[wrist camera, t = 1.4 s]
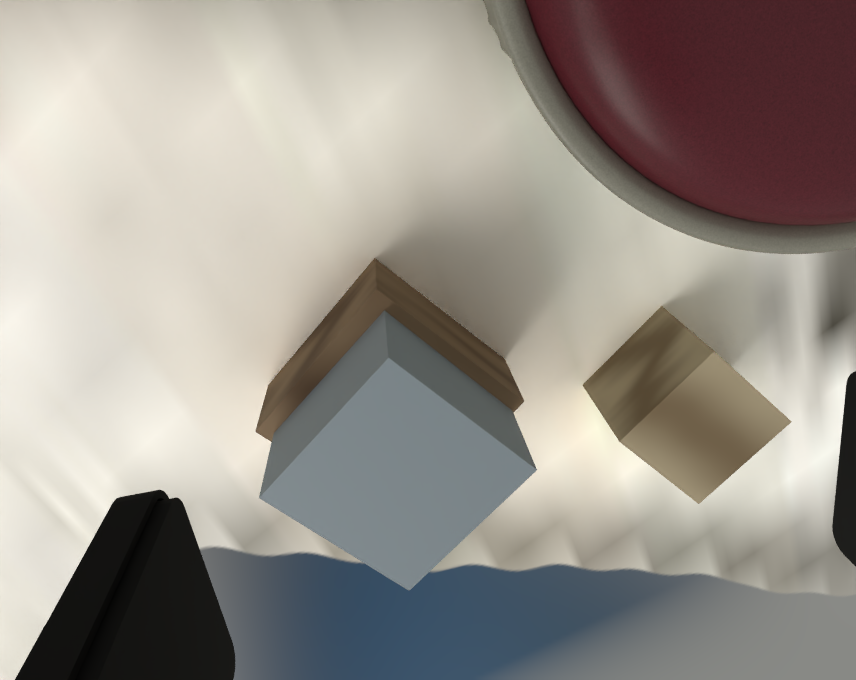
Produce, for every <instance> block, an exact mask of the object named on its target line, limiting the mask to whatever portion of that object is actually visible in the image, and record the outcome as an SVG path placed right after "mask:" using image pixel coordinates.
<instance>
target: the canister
mask: <svg viewBox="0 0 856 680" xmlns="http://www.w3.org/2000/svg"><path fill="white" fill-rule="evenodd" d="M483 1H484V3H485V6H486V9H487V13H488V22H489V24H490V25H491V26H492V27H493V28H494V30H495V32H496V34H497V36H498V38H499V40H500V45H501V48H502V50H503V51H504V52H505V53H506V54H507V55H508V56H509V57H510V58H511V60H512V62H513V64H514V66H515V68H516V70H517V72H518V75H519V77H520V78H521V80H522V82H523V84H524V86H525V88H526V90H527V92H528V93H529V95H530V97H531V99H532V100H533V102H534V104H535V105H536V107H537V108H538V110H539V112H540V113H541V115H542V116H543V118H544V119H545V121H546V122H547V123H548V125H549V126H550V128H551V129H552V130H553V132H554V133H555V134H556V136H557V137H558V138H559V140H560V141H561V142H562V143H563V144H564V146H565V147H566V148H567V149H568V151H569V152H570V153H571V154H572V155H573V156H574V157H575V158H576V159H577V161H578V162H579V163H580V164H581V165H582V166H583V167H584V168H585V169H586V170H587V171H588V172H589V173H591V174H592V175H593V176H594V177H595V178H596V179H597V180H598V181H599V182H600V183H602V184H603V185H604V186H605V187H606V188H608V189H609V190H610V191H611V192H613V193H614V194H615V195H617V196H618V197H619V198H621V199H622V200H623V201H625V202H626V203H628V204H629V205H631V206H632V207H634V208H635V209H637V210H639V211H640V212H642V213H644V214H645V215H647V216H649V217H651V218H653V219H654V220H656V221H658V222H660V223H662V224H664V225H666V226H668V227H671V228H673V229H675V230H677V231H680V232H682V233H684V234H687V235H690V236H692V237H695V238H698V239H701V240H704V241H707V242H711V243H714V244H718V245H722V246H726V247H731V248H736V249H741V250H747V251H755V252H764V253H778V254H808V253H823V252H832V251H840V250H846V249H852V248H856V0H483Z"/></svg>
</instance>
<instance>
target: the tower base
mask: <svg viewBox="0 0 856 680" xmlns="http://www.w3.org/2000/svg"><path fill="white" fill-rule="evenodd" d="M384 310H385V311H386V312H387V313H389V314H390V315H391V316H392V317H394V318H395V319H396V320H397V321H399V322H400V323H401V324H403V325H404V326H405V327H406V328H408V329H409V330H410V331H411V332H413V333H414V334H415V335H417V336H418V337H419V338H420V339H422V340H423V341H424V342H425V343H427V344H428V345H429V346H431V347H432V348H433V349H434V350H436V351H437V352H438V353H440V354H441V355H442V356H443V357H445V358H446V359H447V360H448V361H450V362H451V363H452V364H454V365H455V366H456V367H457V368H459V369H460V370H461V371H462V372H464V373H465V374H466V375H468V376H469V377H470V378H471V379H473V380H474V381H475V382H476V383H478V384H479V385H480V386H482V387H483V388H484V389H485V390H487V391H488V392H489V393H490V394H492V395H493V396H494V397H496V398H497V399H498V400H499V401H501V402H502V403H503V404H505V405H506V406H507V407H508V408H510V409H511V410H512V411H513V412H514V411H515V410H516V409H517V408H518V407H519V406H520V405H521V404H522V403H523V402H524V400H523V397H522V395H521V393H520V391H519V389H518V387H517V385H516V382H515V380H514V378H513V376H512V374H511V372H510V369H509V367H508V365H507V363H506V361H505V359H504V358H502V357H501V356H500V355H498V354H497V353H496V352H495V351H493V350H492V349H491V348H489V347H488V346H487V345H486V344H484V343H483V342H482V341H480V340H479V339H478V338H477V337H475V336H474V335H473V334H471V333H470V332H469V331H468V330H466V329H465V328H464V327H463V326H461V325H460V324H459V323H457V322H456V321H455V320H454V319H452V318H451V317H450V316H448V315H447V314H446V313H445V312H443V311H442V310H441V309H439V308H438V307H437V306H436V305H434V304H433V303H432V302H430V301H429V300H428V299H427V298H425V297H424V296H423V295H421V294H420V293H419V292H418V291H416V290H415V289H414V288H412V287H411V286H410V285H409V284H407V283H406V282H405V281H403V280H402V279H401V278H400V277H398V276H397V275H396V274H394V273H393V272H392V271H391V270H389V269H388V268H387V267H385V266H384V265H383V264H382V263H380V262H379V261H378V260H377V259H374V260H373V261H372V262H371V263H370V265H369V266H368V267H367V268H366V269H365V270H364V272H363V273H362V274H361V275H360V276H359V278H358V279H357V280H356V281H355V282H354V284H353V285H352V286H351V287H350V288H349V290H348V291H347V292H346V293H345V294H344V296H343V297H342V298H341V299H340V300H339V302H338V303H337V304H336V305H335V306H334V308H333V309H332V310H331V311H330V312H329V313H328V315H327V316H326V317H325V318H324V319H323V321H322V322H321V323H320V324H319V325H318V327H317V328H316V329H315V330H314V331H313V333H312V334H311V335H310V336H309V337H308V339H307V340H306V341H305V342H304V343H303V345H302V346H301V347H300V348H299V349H298V351H297V352H296V353H295V354H294V355H293V356H292V358H291V359H290V360H289V361H288V362H287V364H286V365H285V366H284V367H283V368H282V370H281V371H280V372H279V373H278V374H277V376H276V377H275V378H274V379H273V380H272V382H271V383H270V384H269V385H268V388H267V392H266V395H265V399H264V403H263V406H262V410H261V413H260V417H259V421H258V424H257V428H256V432H257V433H258V434H260V435H262V436H263V437H265V438H266V439H268V440H270V441H271V442H272V439H273V434H274V432H275V431H276V430H277V429H278V428H279V427H280V426H281V425H282V423H283V422H284V421H285V420H286V419H287V418H288V417H289V416H290V415H291V413H292V412H293V411H294V410H295V409H296V408H297V407H298V406H299V405H300V403H301V402H302V401H303V400H304V399H305V398H306V397H307V396H308V395H309V393H310V392H311V391H312V390H313V389H314V388H315V387H316V386H317V385H318V384H319V382H320V381H321V380H322V379H323V378H324V377H325V376H326V375H327V374H328V372H329V371H330V370H331V369H332V368H333V367H334V366H335V365H336V364H337V362H338V361H339V360H340V359H341V358H342V357H343V356H344V355H345V354H346V352H347V351H348V350H349V349H350V348H351V347H352V346H353V345H354V344H355V342H356V341H357V340H358V339H359V338H360V337H361V336H362V335H363V334H364V332H365V331H366V330H367V329H368V328H369V327H370V326H371V325H372V324H373V322H374V321H375V320H376V319H377V318H378V317H379V316H380V315H381V314H382V312H383V311H384Z"/></svg>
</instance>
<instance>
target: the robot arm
mask: <svg viewBox="0 0 856 680" xmlns="http://www.w3.org/2000/svg"><path fill="white" fill-rule="evenodd" d="M833 535H834V538H835V541H836V543H837V545H838V547H839V549H840V550H841V552H842V553H843V554H844V555H845V556H846V557H847V558H848V559H849V560H850V561H851V562H852V563H853V564H854V565H855V566H856V372H853V373H852V374H850V376H849V377H848V380H847V385H846V395H845V405H844V415H843V425H842V435H841V445H840V455H839V465H838V475H837V485H836V495H835V505H834V516H833ZM234 672H235V653H234V646H233V643H232V640H231V637H230V634H229V631H228V628H227V626H226V623H225V620H224V617H223V614H222V612H221V609H220V606H219V603H218V600H217V597H216V595H215V592H214V589H213V586H212V583H211V580H210V578H209V575H208V572H207V569H206V567H205V564H204V561H203V558H202V555H201V553H200V549H199V547H198V544H197V541H196V538H195V535H194V532H193V530H192V527H191V524H190V521H189V518H188V516H187V513H186V510H185V507H184V505H183V503H182V501H181V500H180V499H179V498H172V499H169V497H168V496H167V494H166V493H165V492H164V491H162V490H156V491H151V492H146V493H140V494H135V495H129V496H124V497H120V498H117V499H116V500H115V501H114V502H113V504H112V505H111V507H110V509H109V511H108V513H107V514H106V516H105V518H104V520H103V522H102V523H101V525H100V527H99V529H98V531H97V533H96V534H95V536H94V538H93V540H92V542H91V543H90V545H89V547H88V549H87V551H86V553H85V554H84V556H83V558H82V560H81V562H80V563H79V565H78V567H77V569H76V571H75V572H74V574H73V576H72V578H71V580H70V582H69V583H68V585H67V587H66V589H65V591H64V592H63V594H62V596H61V598H60V600H59V602H58V603H57V605H56V607H55V609H54V611H53V612H52V614H51V616H50V618H49V620H48V621H47V623H46V625H45V626H44V628H43V630H42V632H41V634H40V635H39V637H38V639H37V641H36V643H35V644H34V646H33V648H32V650H31V652H30V653H29V655H28V657H27V659H26V661H25V663H24V664H23V666H22V668H21V670H20V672H19V673H18V675H17V677H16V679H15V680H233V678H234Z"/></svg>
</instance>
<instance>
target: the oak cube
mask: <svg viewBox="0 0 856 680" xmlns="http://www.w3.org/2000/svg"><path fill="white" fill-rule="evenodd" d="M583 387H584V388H585V390H586V391H587V393H588V394H589V396H590V397H591V399H592V400H593V402H594V403H595V405H596V407H597V408H598V410H599V411H600V413H601V414H602V416H603V417H604V419H605V420H606V422H607V423H608V425H609V426H610V428H611V429H612V431H613V432H614V434H615V435H616V437H617V438H618V440H619V442H621V443H622V444H623V445H624V446H626V447H627V448H628V449H630V450H631V451H632V452H633V453H635V454H636V455H637V456H638V457H640V458H641V459H642V460H644V461H645V462H646V463H647V464H649V465H650V466H651V467H652V468H654V469H655V470H656V471H658V472H659V473H660V474H661V475H663V476H664V477H665V478H666V479H668V480H669V481H670V482H672V483H673V484H674V485H675V486H677V487H678V488H679V489H680V490H682V491H683V492H684V493H685V494H687V495H688V496H689V497H691V498H692V499H693V500H694V501H696V502H697V503H698V504H699V503H700V502H702V501H703V500H704V499H705V498H706V497H707V496H708V495H709V494H711V493H712V492H713V491H714V490H715V489H716V488H717V487H718V486H720V485H721V484H722V483H723V482H724V481H725V480H726V479H728V478H729V477H730V476H731V475H732V474H733V473H734V472H735V471H737V470H738V469H739V468H740V467H741V466H742V465H743V464H744V463H746V462H747V461H748V460H749V459H750V458H751V457H752V456H753V455H755V454H756V453H757V452H758V451H759V450H760V449H761V448H763V447H764V446H765V445H766V444H767V443H768V442H769V441H770V440H772V439H773V438H774V437H775V436H776V435H777V434H778V433H779V432H781V431H782V430H783V429H784V428H785V427H786V426H787V425H788V424H790V423H791V421H790V420H789V419H788V418H787V417H786V416H785V415H784V414H783V413H781V412H780V411H779V410H778V409H777V408H776V407H775V406H774V405H773V404H772V403H770V402H769V401H768V400H767V399H766V398H765V397H764V396H763V395H762V394H761V393H760V392H758V391H757V390H756V389H755V388H754V387H753V386H752V385H751V384H750V383H749V382H747V381H746V380H745V379H744V378H743V377H742V376H741V375H740V374H739V373H738V372H736V371H735V370H734V369H733V368H732V367H731V366H730V365H729V364H728V363H727V362H725V361H724V360H723V359H722V358H721V357H720V356H719V355H718V354H717V353H716V352H715V351H713V350H712V349H711V348H710V347H709V346H708V345H706V344H705V343H704V342H703V341H702V340H701V339H699V338H698V337H697V336H696V335H695V334H694V333H692V332H691V331H690V330H689V329H688V328H687V327H685V326H684V325H683V324H682V323H681V322H680V321H678V320H677V319H676V318H675V317H674V316H673V315H671V314H670V313H669V312H668V311H667V310H666V309H664V308H663V307H662V306H661V307H660V308H659V309H658V310H657V311H656V312H655V313H654V314H653V315H652V316H651V317H650V318H649V319H648V320H647V321H646V322H645V323H644V324H643V325H642V326H641V327H640V328H639V329H638V330H637V331H636V332H635V333H634V334H633V335H632V336H631V337H630V338H629V339H628V340H627V341H626V342H625V343H624V344H623V345H622V346H621V347H620V348H619V349H618V350H617V351H616V352H615V353H614V354H613V355H612V356H611V357H610V358H609V359H608V360H607V361H606V362H605V363H604V364H603V365H602V366H601V367H600V368H599V369H598V370H597V371H596V372H595V373H594V374H593V375H592V376H591V377H590V378H589V379H588V380H587V381H586V382H585V383H584V384H583Z"/></svg>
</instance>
